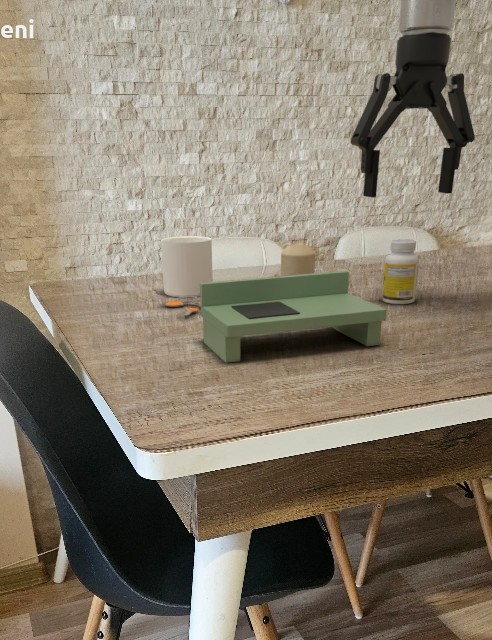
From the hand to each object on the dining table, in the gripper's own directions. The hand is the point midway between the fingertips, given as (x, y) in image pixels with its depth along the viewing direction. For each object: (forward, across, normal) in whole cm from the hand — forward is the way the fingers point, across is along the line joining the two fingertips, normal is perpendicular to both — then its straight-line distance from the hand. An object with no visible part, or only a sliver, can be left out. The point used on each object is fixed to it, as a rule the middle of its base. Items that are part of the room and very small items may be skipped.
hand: (407, 195), depth 105 cm
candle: (+17, +17, -4) cm, 24 cm away
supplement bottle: (+17, 0, 0) cm, 17 cm away
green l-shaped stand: (+17, +27, +17) cm, 36 cm away
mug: (+17, +31, -23) cm, 42 cm away
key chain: (+17, +34, -9) cm, 39 cm away
